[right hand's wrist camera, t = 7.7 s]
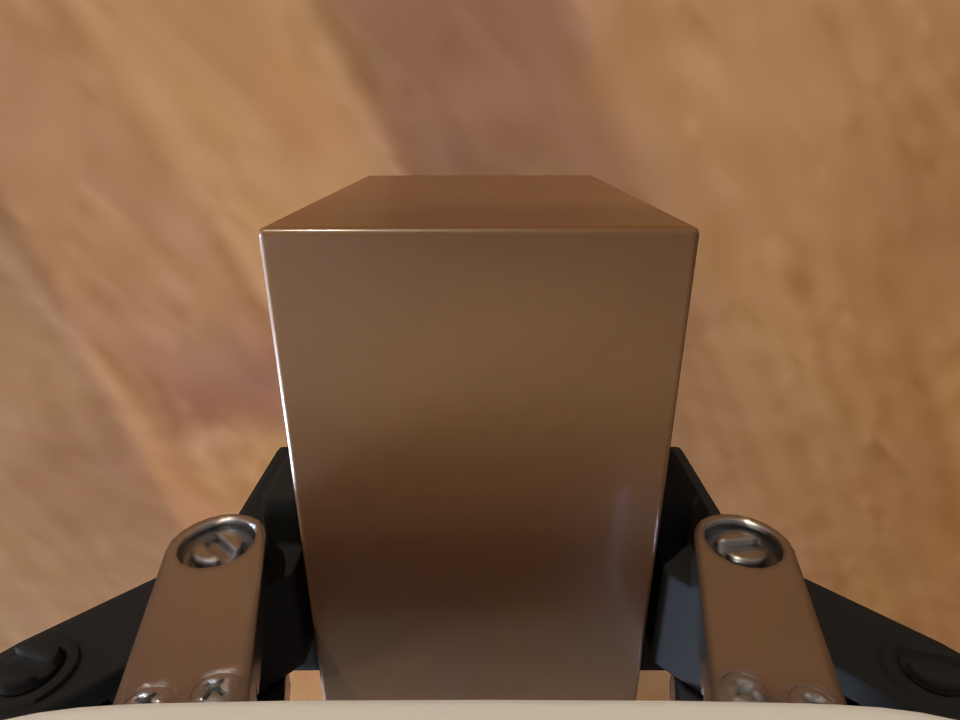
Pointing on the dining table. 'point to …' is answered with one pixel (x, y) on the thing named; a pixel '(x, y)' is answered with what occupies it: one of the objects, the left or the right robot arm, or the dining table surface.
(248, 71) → the dining table surface
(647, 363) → the beam
